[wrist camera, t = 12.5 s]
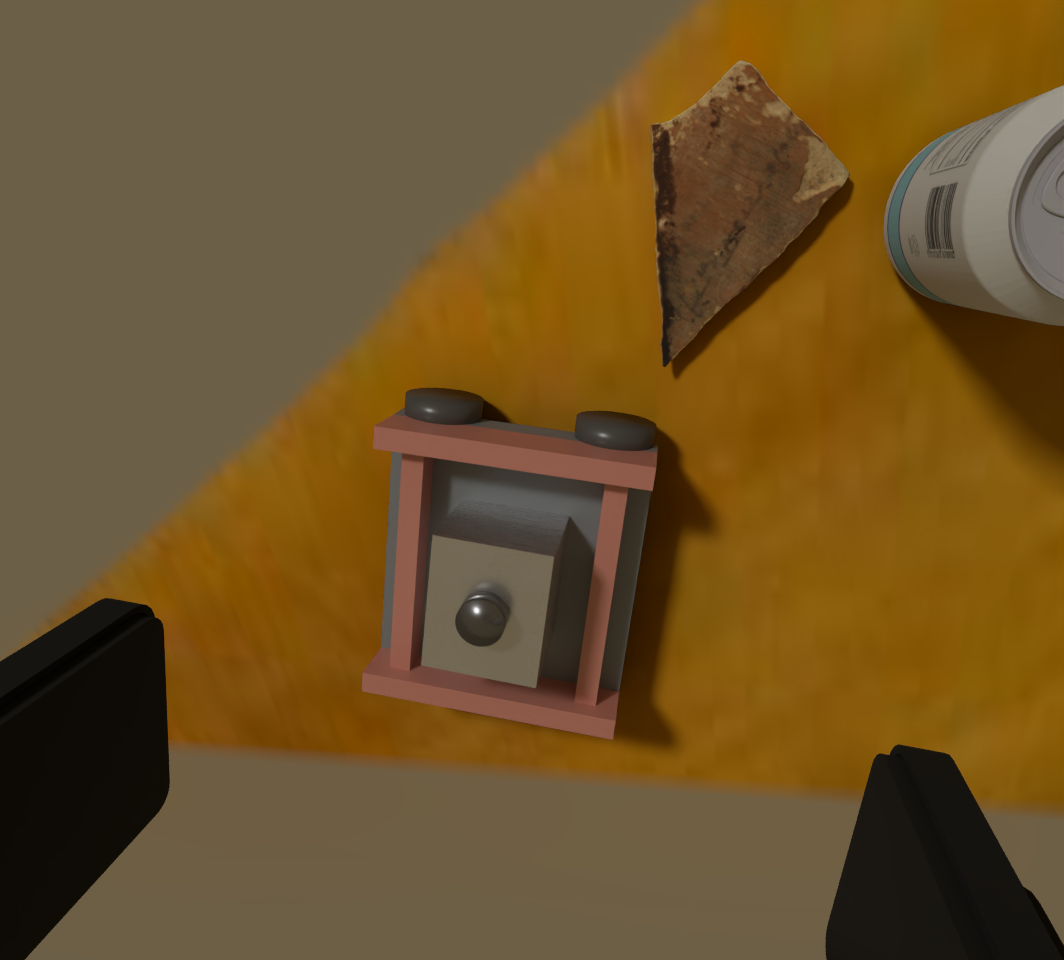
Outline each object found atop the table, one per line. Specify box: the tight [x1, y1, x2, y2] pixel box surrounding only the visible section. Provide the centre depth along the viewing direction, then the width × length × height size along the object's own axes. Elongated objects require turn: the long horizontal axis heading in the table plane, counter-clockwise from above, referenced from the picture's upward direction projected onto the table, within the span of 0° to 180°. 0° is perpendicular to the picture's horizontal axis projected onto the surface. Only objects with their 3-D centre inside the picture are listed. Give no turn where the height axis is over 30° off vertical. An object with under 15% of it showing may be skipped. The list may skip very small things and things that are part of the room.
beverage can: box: [884, 85, 1064, 326], centre depth 27 cm, size 7×7×12 cm
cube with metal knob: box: [421, 498, 570, 688], centre depth 34 cm, size 5×6×6 cm
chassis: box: [362, 388, 658, 740], centre depth 37 cm, size 12×15×6 cm
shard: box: [649, 60, 850, 367], centre depth 34 cm, size 11×8×2 cm
